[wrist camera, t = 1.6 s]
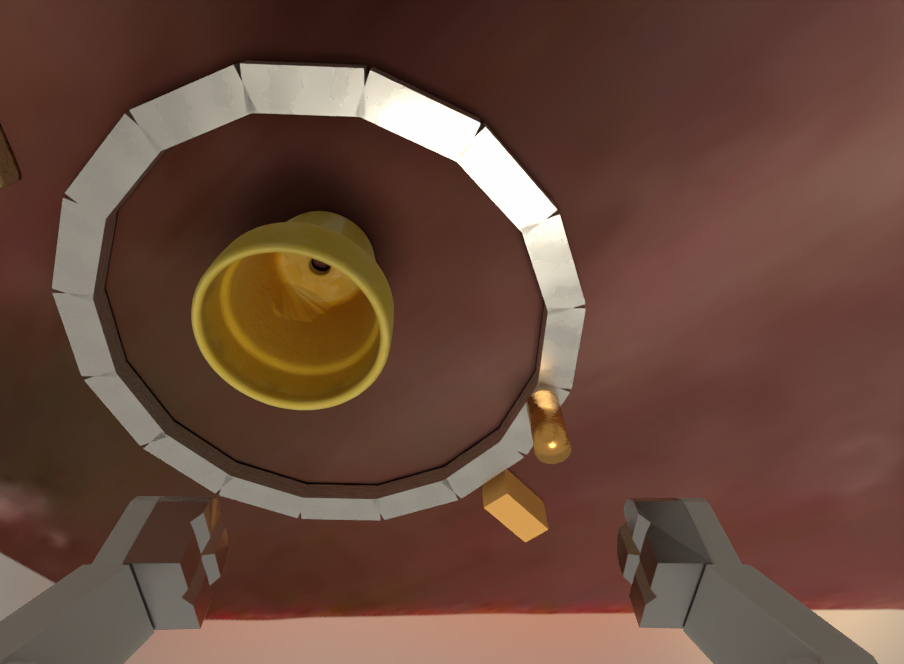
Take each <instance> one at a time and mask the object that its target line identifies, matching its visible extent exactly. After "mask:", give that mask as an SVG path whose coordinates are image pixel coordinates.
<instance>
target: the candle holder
mask: <svg viewBox="0 0 904 664" xmlns="http://www.w3.org/2000/svg"><path fill="white" fill-rule="evenodd" d="M20 179H21V173H20V170H19V168H18V165H17V163H16V160H15V157H14V155H13V152H12V150H11V147H10V145H9V143H8V141H7V138H6V136H5V134H4V132H3V129H2V127H1V125H0V188H2V187H4V186H7V185H9V184H11V183H14V182H16V181H18V180H20Z"/></svg>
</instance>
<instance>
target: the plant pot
mask: <svg viewBox="0 0 904 664" xmlns="http://www.w3.org/2000/svg"><path fill="white" fill-rule="evenodd" d="M312 258H313V259H316V260H319V261H321V262H323V263H326V264H328V265H330V268H329V269H328V270H327V271H319V270H317V269H315V268H314V267H313V266H312V263H311V260H312ZM191 319H192V327H193V332H194V335H195V338H196V341H197V344H198V346H199V348H200V350H201V352H202V354H203V356H204V357H205V359H206V360H207V362H208V363H209V365H210V366H211V367H212V368H213V369H214V371H215V372H216V373H217V374H218V375H219V376H220V377H222V378H223V379H224V380H225V381H226V382H227V383H228V384H230V385H231V386H232V387H234V388H235V389H237V390H238V391H240V392H242V393H243V394H245V395H247V396H249V397H251V398H253V399H255V400H258V401H260V402H263V403H266V404H269V405H272V406H276V407H280V408H286V409H294V410H316V409H323V408H329V407H332V406H336V405H339V404H342V403H344V402H346V401H348V400H350V399H352V398H354V397H356V396H358V395H359V394H361V393H362V392H363V391H364V390H366V389H367V388H368V387H369V386H370V385H371V384H372V383H373V382H374V381H375V380H376V378H377V377H378V376H379V374H380V373H381V371H382V369H383V367H384V365H385V363H386V360H387V357H388V354H389V350H390V345H391V339H392V332H393V322H394V305H393V297H392V293H391V290H390V287H389V284H388V282H387V279H386V277H385V276H384V274H383V272H382V270H381V269H380V267H379V266H378V264H377V263H376V260H375V255H374V251H373V248H372V245H371V243H370V241H369V239H368V238H367V236H366V235H365V233H364V232H363V231H362V230H361V229H360V228H359V227H358V226H357V225H356V224H354V223H353V222H352V221H350V220H349V219H347V218H345V217H343V216H341V215H338V214H335V213H332V212H327V211H312V212H307V213H303V214H300V215H298V216H296V217H294V218H292V219H290V220H288V221H287V222H280V223H273V224H268V225H264V226H260V227H258V228H255V229H253V230H250V231H248V232H246V233H244V234H243V235H241V236H240V237H238V238H237V239H236V240H234V241H233V242H232V243H231V244H230V245H229V246H228V247H227V248H225V250H224V251H223V252H222V253H221V254H220V255H219V256H218V257H217V258H216V259H215V260H214V262H213V263H212V264H211V265H210V267H209V268H208V269H207V270H206V272H205V273H204V275H203V276H202V278H201V279H200V281H199V283H198V285H197V287H196V290H195V293H194V297H193V301H192V309H191Z"/></svg>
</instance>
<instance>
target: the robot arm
mask: <svg viewBox="0 0 904 664" xmlns="http://www.w3.org/2000/svg"><path fill="white" fill-rule="evenodd" d="M623 513H624V516H625V519H626V523H625V524H624V525H622V526H621V527H620V528H619V533H618V539H617V554H618V559H619V565H620V568H621V572H622V575H623V577H624V578H626V579H627V580H628V581H629V582H630V583H631V584H632V587H631V591H630V595H629V597H630V600H631V603H632V606H633V609H634V612H635V615H636V619H637V622H638V625H639V627H645V628H683V629H684V630H683V631H684V632H685V633H686V634H687V635H688V636H689V638H691V640H692V641H693V642H694V643H695V644H696V645H697V646H698V647H699V648H700V649H701V650H702V652H703V653H704V654H705V655H706V656H707V657H708V658H709V659H710V660H711V661H712V662H713V663H714V664H878V663H877V661H876V660H875V659H874V657H873V656H872V655H871V654H869V653H868V652H867V651H865V650H864V649H863V648H861V647H860V646H858V645H857V644H856V643H855V642H853V641H852V640H851V639H849V638H848V637H846V636H845V635H844V634H843V633H841V632H840V631H838V630H837V629H836V628H834V627H833V626H832V625H830V624H829V623H828V622H826V621H825V620H824V619H822V618H821V617H820V616H818V615H817V614H816V613H814V612H813V611H812V610H810V609H809V608H808V607H806V606H805V605H803V604H802V603H801V602H799V601H798V600H797V599H795V598H794V597H793V596H791V595H790V594H789V593H787V592H786V591H785V590H783V589H782V588H781V587H779V586H778V585H777V584H775V583H774V582H772V581H771V580H770V579H768V578H767V577H766V576H764V575H763V574H762V573H760V572H759V571H758V570H756V569H755V568H754V567H752V566H751V565H742V563H741V561H740V559H739V557H738V556H737V554H736V552H735V550H734V548H733V546H732V545H731V543H730V541H729V539H728V537H727V535H726V534H725V532H724V530H723V528H722V526H721V524H720V522H719V521H718V519H717V517H716V515H715V513H714V511H713V510H712V508H711V506H710V504H709V502H708V501H707V500H706V499H704V498H678V499H677V498H629V499H628V500H627V501H626V503H625V507H624V511H623ZM220 514H221V508H220V504H219V501H218V499H216V498H211V497H175V496H163V497H157V496H137V497H136V498H135V499H133V500H132V501H131V502H130V503H129V505H128V506H127V508H126V510H125V511H124V513H123V514H122V516H121V518H120V519H119V521H118V522H117V524H116V526H115V527H114V529H113V530H112V532H111V534H110V535H109V537H108V538H107V540H106V542H105V543H104V545H103V546H102V548H101V550H100V551H99V553H98V554H97V556H96V558H95V559H94V561H93V563H92V564H91V565H82V566H81V567H79V568H78V569H76V570H75V571H73V572H72V573H70V574H69V575H68V576H66V577H65V578H63V579H62V580H60V581H59V582H57V583H56V584H54V585H53V586H52V587H50V588H49V589H47V590H46V591H44V592H43V593H41V594H40V595H38V596H37V597H36V598H34V599H32V600H31V601H29V602H28V603H27V604H25V605H24V606H22V607H21V608H19V609H18V610H16V611H15V612H13V613H12V614H10V615H9V616H7V617H6V618H5V619H3V620H2V621H0V664H124V663H125V662H126V661H127V660H128V658H130V657H131V655H132V654H134V653H135V652H136V650H138V648H140V646H141V645H143V644H144V643H145V641H147V640H148V639H149V637H150V636H151V635H152V634H153V633H154V630H168V629H199V628H201V625H202V623H203V620H204V618H205V615H206V613H207V610H208V607H209V605H210V602H211V600H212V597H213V596H212V593H211V589H210V585H211V584H212V583H213V582H214V581H216V580H217V579H218V578H219V577H220V576H221V573H222V571H223V568H224V565H225V561H226V555H227V549H228V539H227V532H226V528H225V527H224V526H223V525H222V524H221V523H220V522H218V518H219V516H220Z"/></svg>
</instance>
